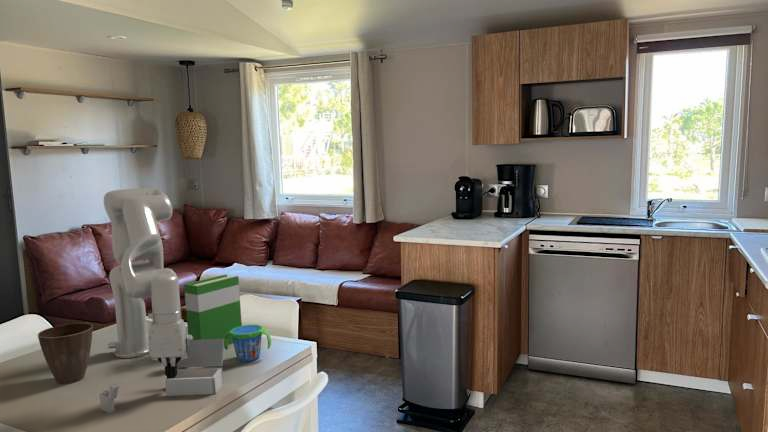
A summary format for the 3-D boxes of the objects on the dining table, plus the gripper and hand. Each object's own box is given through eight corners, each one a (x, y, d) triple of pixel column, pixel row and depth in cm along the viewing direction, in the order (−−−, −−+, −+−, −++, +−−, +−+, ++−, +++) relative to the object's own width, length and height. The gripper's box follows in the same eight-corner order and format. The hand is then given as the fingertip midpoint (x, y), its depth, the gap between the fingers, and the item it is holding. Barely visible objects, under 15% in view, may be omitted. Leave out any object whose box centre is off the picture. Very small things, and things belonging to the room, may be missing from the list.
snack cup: (219, 363, 185) (217, 333, 183) (233, 352, 195) (231, 323, 194) (264, 365, 182) (262, 334, 180) (276, 353, 192) (274, 324, 191)
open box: (166, 396, 161) (165, 379, 160) (176, 384, 168) (175, 369, 168) (215, 393, 161) (214, 377, 160) (223, 382, 169) (222, 367, 168)
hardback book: (229, 336, 212) (225, 274, 210) (242, 339, 208) (238, 276, 205) (189, 350, 198) (184, 284, 196) (202, 354, 194) (197, 286, 191)
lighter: (100, 409, 154) (98, 381, 153) (106, 406, 155) (104, 378, 154) (115, 415, 150) (112, 386, 149) (121, 412, 151) (118, 384, 150)
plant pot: (40, 378, 178) (34, 329, 176) (92, 366, 186) (87, 319, 185) (46, 393, 166) (40, 341, 164) (101, 379, 175) (96, 329, 173)
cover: (177, 340, 171) (179, 341, 172) (174, 367, 168) (176, 368, 169) (223, 338, 171) (224, 339, 172) (221, 365, 168) (222, 366, 169)
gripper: (135, 321, 157) (140, 384, 160) (188, 320, 157) (193, 382, 160) (146, 313, 165) (151, 373, 167) (197, 312, 165) (201, 372, 167)
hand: (171, 377), depth 163 cm, fingers closed
